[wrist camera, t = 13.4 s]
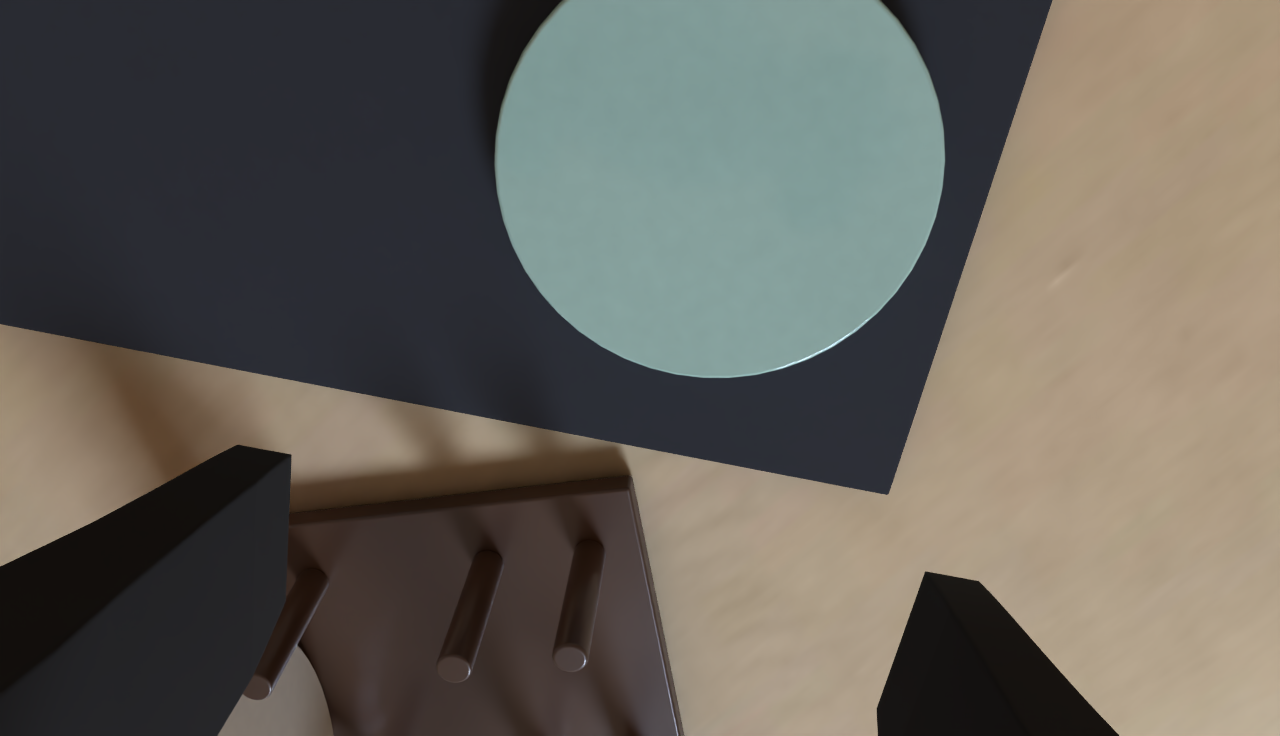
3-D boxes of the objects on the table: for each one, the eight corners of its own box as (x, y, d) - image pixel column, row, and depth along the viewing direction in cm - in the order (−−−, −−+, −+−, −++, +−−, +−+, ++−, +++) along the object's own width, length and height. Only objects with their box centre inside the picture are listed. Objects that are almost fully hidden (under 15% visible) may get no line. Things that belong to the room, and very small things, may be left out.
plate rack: (281, 811, 29) (216, 952, 25) (162, 526, 25) (65, 643, 21) (693, 781, 27) (688, 926, 24) (632, 473, 24) (615, 589, 20)
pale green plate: (449, 308, 21) (843, 429, 21) (559, -133, 17) (1026, 26, 18) (459, 290, 22) (839, 408, 22) (566, -134, 18) (1012, 18, 19)
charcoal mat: (-42, 307, 23) (-54, 314, 23) (-117, -433, 17) (-136, -440, 17) (886, 485, 23) (888, 495, 23) (1107, -186, 18) (1114, -186, 17)
